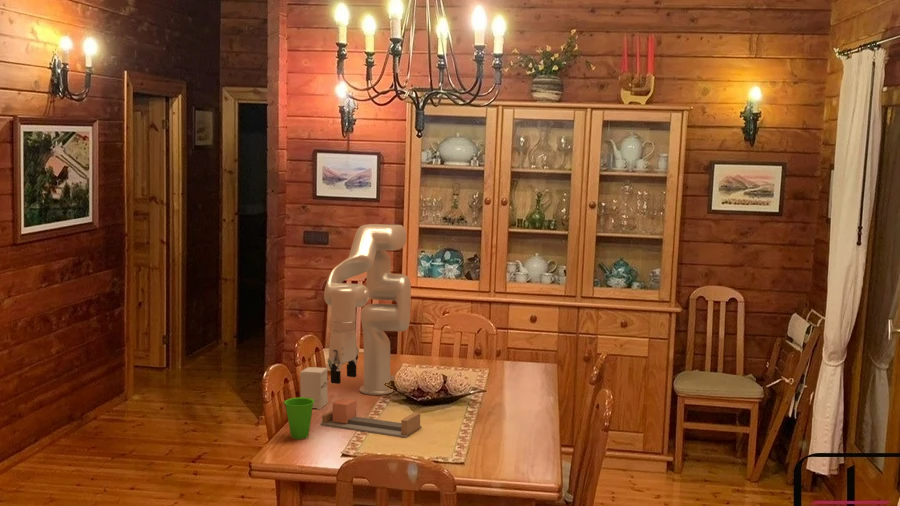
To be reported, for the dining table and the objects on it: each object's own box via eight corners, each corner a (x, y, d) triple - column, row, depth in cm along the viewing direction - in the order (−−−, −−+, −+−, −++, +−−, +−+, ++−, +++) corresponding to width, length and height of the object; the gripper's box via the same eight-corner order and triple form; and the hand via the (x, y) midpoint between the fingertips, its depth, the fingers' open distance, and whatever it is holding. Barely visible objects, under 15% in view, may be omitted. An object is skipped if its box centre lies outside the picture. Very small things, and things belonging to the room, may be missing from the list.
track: (338, 415, 297) (338, 401, 296) (421, 427, 285) (421, 412, 284) (320, 425, 287) (320, 409, 286) (405, 437, 275) (405, 421, 274)
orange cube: (342, 416, 293) (342, 398, 293) (356, 418, 291) (356, 400, 291) (332, 421, 288) (332, 403, 287) (346, 423, 286) (346, 405, 285)
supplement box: (320, 409, 304) (320, 372, 302) (299, 408, 305) (299, 371, 304) (328, 403, 311) (327, 367, 310) (307, 402, 313) (307, 366, 311)
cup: (303, 430, 282) (302, 395, 280) (320, 437, 275) (320, 401, 274) (278, 436, 275) (278, 401, 274) (296, 443, 269) (295, 407, 268)
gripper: (347, 321, 295) (347, 373, 297) (318, 329, 280) (318, 384, 281) (367, 323, 292) (367, 375, 294) (339, 331, 277) (339, 387, 278)
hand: (343, 379), depth 287 cm, fingers open, 9 cm apart
